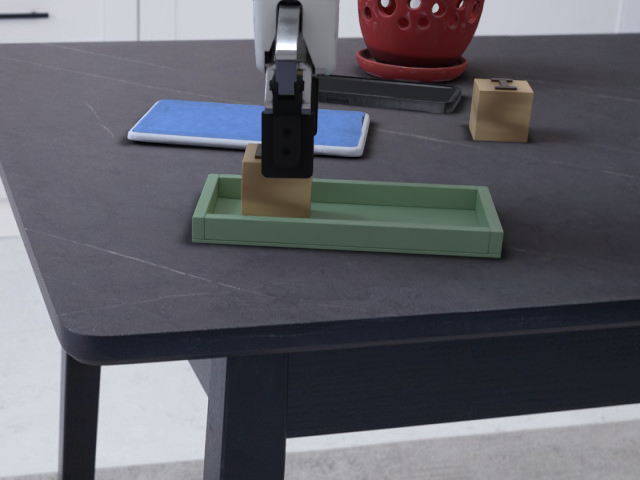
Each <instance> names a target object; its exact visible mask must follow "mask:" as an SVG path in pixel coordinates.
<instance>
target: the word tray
mask: <svg viewBox="0 0 640 480" xmlns="http://www.w3.org/2000/svg"><path fill="white" fill-rule="evenodd" d="M241 188H242V174H229V173H228V174H226V173H220V174H219V173H209V174H208V175H207V177H206V180H205V183H204V186H203V188H202V190H201V194H200V196H199V199H198V201H197V204H196V206H195V209H194V212H193V215H192V217H191V231H192V232H191V238H192V239H191V242H192V243H200V244H219V245H241V246H259V247H279V248H297V249H301V248H302V249H317V250H319V249H320V250H337V251H338V250H339V251H356V252H357V251H359V252H375V253H376V252H377V253H396V254H397V253H398V254H416V255H417V254H418V255H420V254H421V255H438V256H454V257H455V256H458V257H477V258H479V257H480V258H495V259H496V258H497V259H501V258H502V257H501V256H502V255H501V254H502V249H503V243H504V242H503V240H504V233H505V232H504V229H503V227H502V226H503V225H502V223H501V220H500V217H499V214H498V212H497V209H496V206H495V204H494V201H493V198H492V195H491V192H490V189H489V187H488V186H483V185H466V184H465V185H463V184H443V183H423V182H422V183H421V182H402V181H401V182H399V181H378V180H358V179H357V180H356V179H335V178H317V177H316V178H314V177H313V179H312V198H311V214H310V219H306V218H285V217H264V216H244V215H241Z"/></svg>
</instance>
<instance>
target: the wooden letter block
mask: <svg viewBox="0 0 640 480" xmlns="http://www.w3.org/2000/svg"><path fill="white" fill-rule="evenodd" d="M534 95H535V92H534V90H533V89H532V87H531V85H530V84H529V82H528V81H527V80H518V79H517V80H514V79H513V78H499V77H497V78H496V77H491V78H474V80H473V86H472V96H471V97H472V98H471V105H470V115H469V124H468V128H469V131H470V134H471V137H472V140H473V141H481V142H482V141H483V142H485V141H486V142H503V143H504V142H508V143H511V142H512V143H528V138H529V131H530V125H531V118H532V117H531V116H532V109H533V102H534V97H535V96H534Z"/></svg>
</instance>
